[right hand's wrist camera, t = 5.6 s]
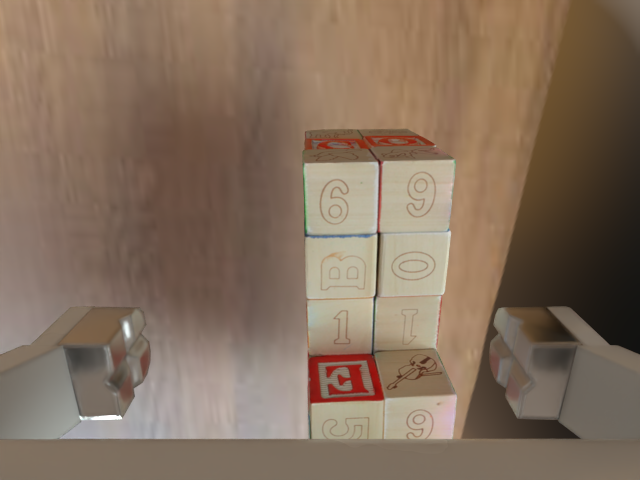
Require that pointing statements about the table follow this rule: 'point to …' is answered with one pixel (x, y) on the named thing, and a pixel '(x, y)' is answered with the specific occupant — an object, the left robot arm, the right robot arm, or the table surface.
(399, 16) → the table surface
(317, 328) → the stack of blocks
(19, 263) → the table surface
